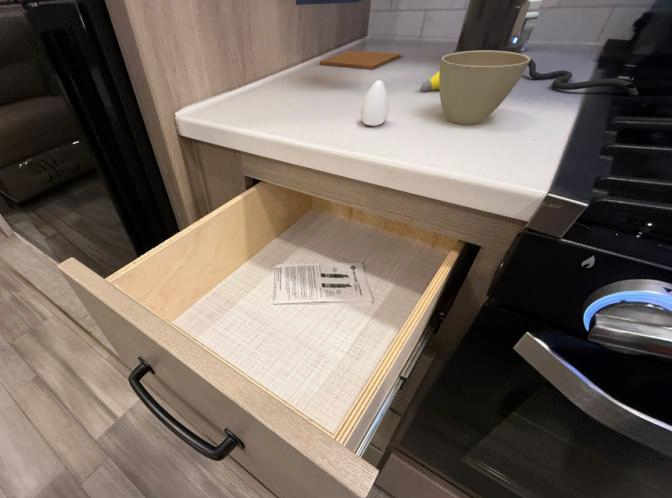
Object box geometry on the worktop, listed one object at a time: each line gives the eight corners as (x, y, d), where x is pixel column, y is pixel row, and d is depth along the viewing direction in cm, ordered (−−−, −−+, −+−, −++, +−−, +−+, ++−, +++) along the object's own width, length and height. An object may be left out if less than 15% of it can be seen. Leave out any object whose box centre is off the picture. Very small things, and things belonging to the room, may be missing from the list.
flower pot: (514, 131, 42) (543, 64, 36) (431, 132, 43) (448, 67, 38) (493, 107, 48) (516, 47, 43) (423, 108, 50) (436, 51, 45)
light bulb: (459, 89, 55) (464, 68, 52) (423, 103, 56) (426, 84, 53) (451, 78, 57) (454, 57, 54) (416, 92, 58) (418, 72, 55)
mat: (400, 56, 76) (401, 53, 75) (372, 69, 70) (372, 65, 69) (349, 53, 83) (349, 50, 82) (319, 64, 77) (319, 61, 76)
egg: (387, 120, 48) (394, 76, 44) (384, 129, 45) (392, 83, 41) (361, 119, 49) (366, 76, 45) (357, 128, 46) (362, 83, 42)
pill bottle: (495, 50, 74) (512, 0, 68) (512, 47, 74) (531, -3, 68) (512, 53, 70) (531, 1, 64) (529, 50, 71) (550, -2, 65)
